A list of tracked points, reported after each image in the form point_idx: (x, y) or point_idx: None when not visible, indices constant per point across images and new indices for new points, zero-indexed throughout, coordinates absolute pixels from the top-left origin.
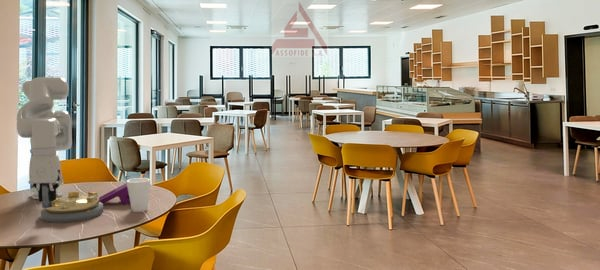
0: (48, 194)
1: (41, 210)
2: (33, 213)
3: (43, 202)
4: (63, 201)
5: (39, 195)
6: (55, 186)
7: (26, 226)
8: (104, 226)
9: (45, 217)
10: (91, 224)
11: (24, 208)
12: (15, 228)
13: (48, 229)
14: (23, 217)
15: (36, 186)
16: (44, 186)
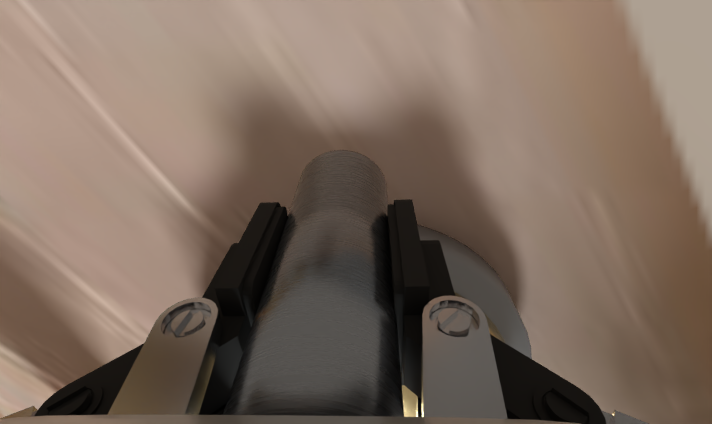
0: (274, 259)
1: (522, 328)
2: (593, 354)
3: (346, 179)
4: (413, 406)
5: (410, 240)
6: (104, 380)
7: (518, 140)
8: (18, 169)
9: (447, 249)
10: (129, 200)
11: (676, 413)
12: (578, 92)
13: (323, 86)
14: (621, 297)
15: (496, 368)
16: (290, 355)
